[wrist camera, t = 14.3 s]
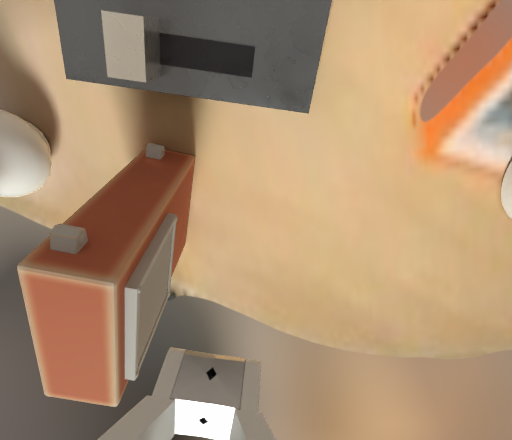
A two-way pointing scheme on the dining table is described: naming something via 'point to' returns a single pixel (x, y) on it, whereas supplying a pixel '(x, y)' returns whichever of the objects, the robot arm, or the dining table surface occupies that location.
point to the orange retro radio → (108, 278)
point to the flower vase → (22, 157)
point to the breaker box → (198, 47)
